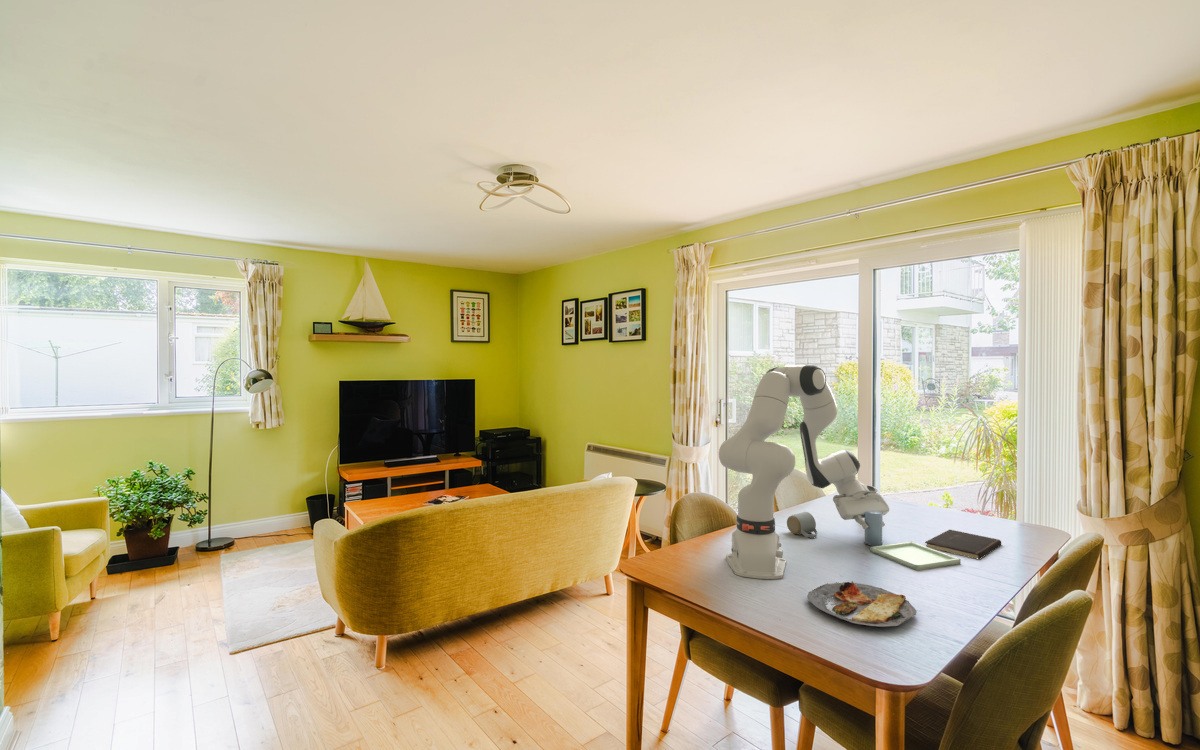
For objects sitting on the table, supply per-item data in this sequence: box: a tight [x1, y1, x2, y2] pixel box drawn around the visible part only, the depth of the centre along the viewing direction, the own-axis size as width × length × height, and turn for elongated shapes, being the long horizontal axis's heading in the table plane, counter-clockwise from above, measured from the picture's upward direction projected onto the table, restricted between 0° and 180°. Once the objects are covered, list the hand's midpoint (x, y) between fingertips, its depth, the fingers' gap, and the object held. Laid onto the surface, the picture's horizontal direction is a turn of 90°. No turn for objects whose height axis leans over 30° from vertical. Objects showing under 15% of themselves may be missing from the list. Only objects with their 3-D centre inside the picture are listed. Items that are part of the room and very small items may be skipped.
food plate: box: [806, 581, 917, 627], centre depth 136 cm, size 25×23×4 cm
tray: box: [869, 541, 962, 571], centre depth 173 cm, size 18×18×2 cm
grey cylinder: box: [864, 511, 883, 547], centre depth 187 cm, size 6×6×11 cm
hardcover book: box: [924, 529, 1002, 560], centre depth 184 cm, size 16×23×2 cm
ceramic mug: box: [786, 511, 818, 539], centre depth 198 cm, size 11×8×8 cm
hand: (874, 527), depth 186 cm, fingers closed on grey cylinder, 6 cm apart
